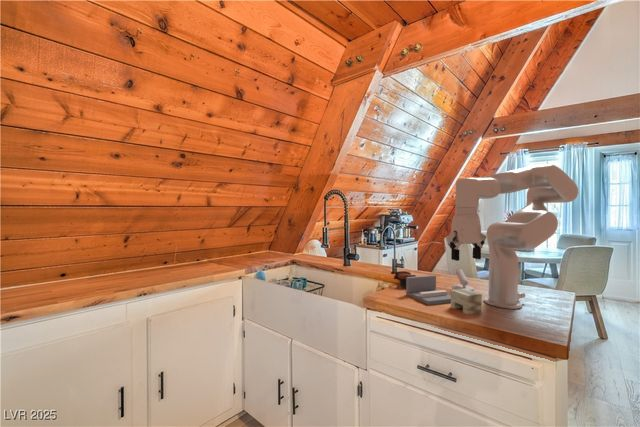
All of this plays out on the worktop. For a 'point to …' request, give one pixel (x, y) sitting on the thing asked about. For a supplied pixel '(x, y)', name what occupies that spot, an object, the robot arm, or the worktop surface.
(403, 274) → the pottery mug
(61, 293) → the worktop surface
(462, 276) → the wall hook
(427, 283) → the board
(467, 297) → the saddle block
